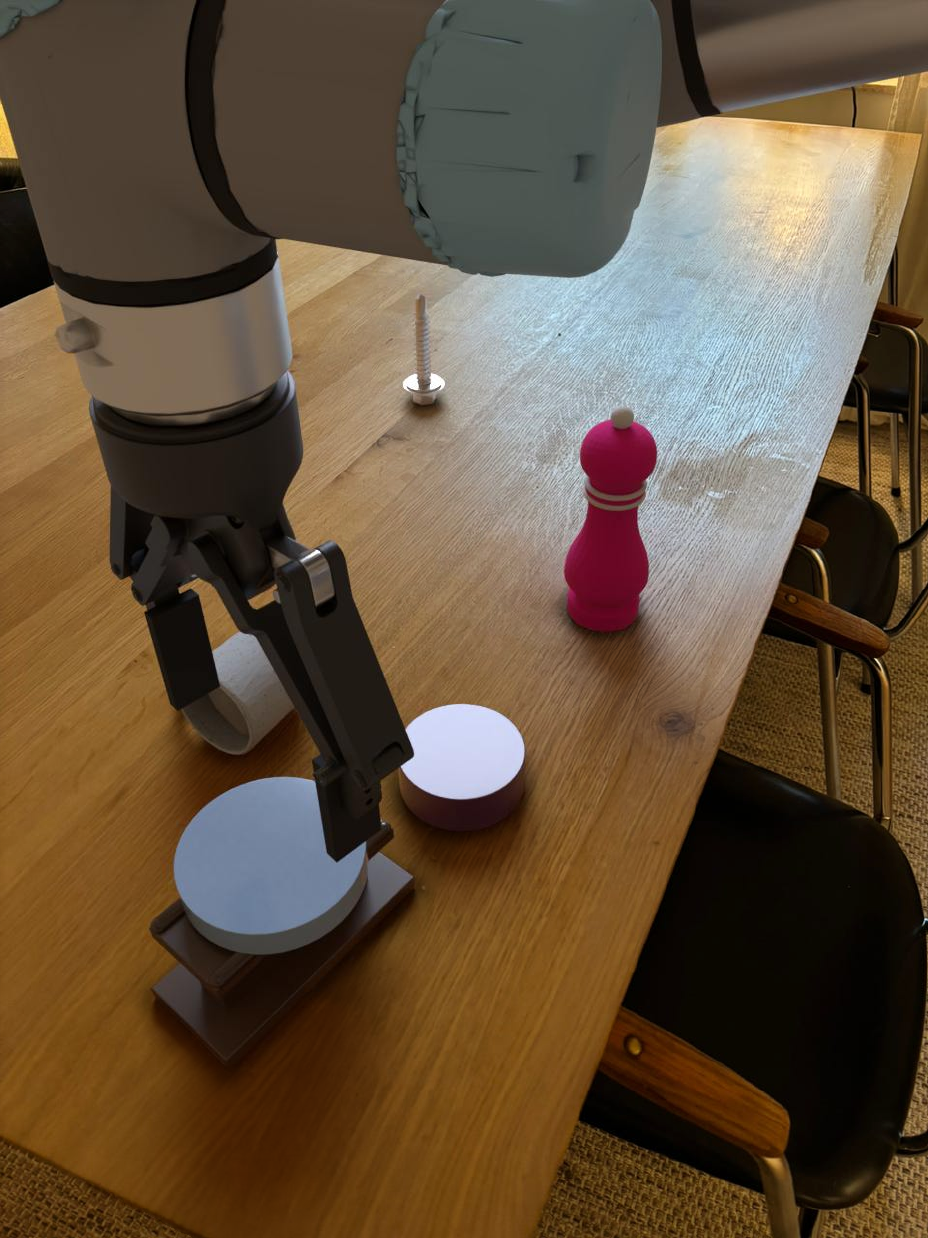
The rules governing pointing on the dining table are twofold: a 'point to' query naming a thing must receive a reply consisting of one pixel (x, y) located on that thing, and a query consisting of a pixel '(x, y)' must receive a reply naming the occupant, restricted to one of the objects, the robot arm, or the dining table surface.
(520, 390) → the dining table surface
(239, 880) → the side plate
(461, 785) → the plum stand
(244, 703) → the ceramic mug
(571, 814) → the dining table surface
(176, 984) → the plate rack
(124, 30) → the robot arm
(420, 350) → the screw
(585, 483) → the pepper mill
